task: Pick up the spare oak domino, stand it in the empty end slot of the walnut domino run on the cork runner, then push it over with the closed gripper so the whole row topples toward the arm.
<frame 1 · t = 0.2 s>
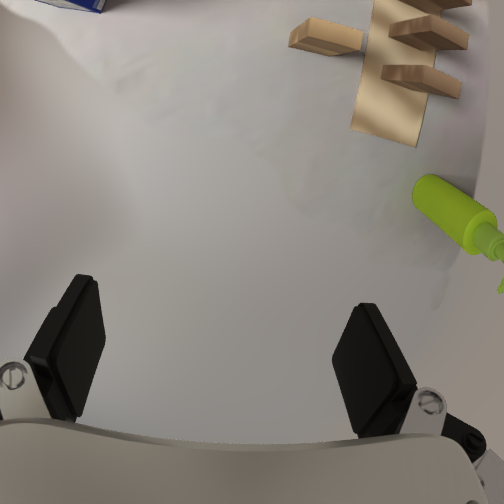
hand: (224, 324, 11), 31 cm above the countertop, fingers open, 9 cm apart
domino 3: (405, 37, 31), resting on runner
domino 1: (310, 43, 32), on the countertop
runner: (404, 37, 31), on the countertop
domino 2: (398, 77, 33), resting on runner
soap dispenser: (427, 195, 43), on the countertop
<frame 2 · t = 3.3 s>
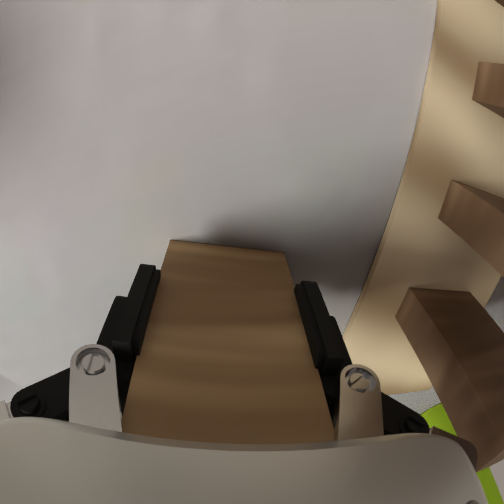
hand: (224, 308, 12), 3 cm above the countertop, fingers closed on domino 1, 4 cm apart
domino 3: (477, 208, 13), resting on runner
domino 1: (224, 265, 15), on the countertop, touching gripper
runner: (472, 205, 14), on the countertop
domino 2: (434, 303, 16), resting on runner
soap dispenser: (430, 419, 25), on the countertop
when the fingers open (4 cm above the countertop, at t = 9.0 s): domino 1 stays where it is, resting on runner.
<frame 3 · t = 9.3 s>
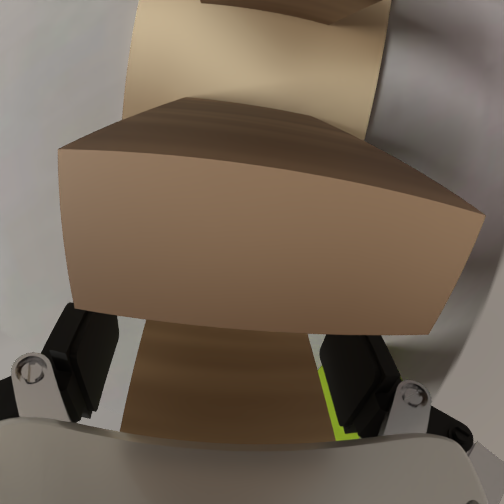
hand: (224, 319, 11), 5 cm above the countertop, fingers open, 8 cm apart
domino 1: (224, 260, 15), resting on runner
domino 2: (245, 128, 12), resting on runner
soap dispenser: (351, 376, 21), on the countertop
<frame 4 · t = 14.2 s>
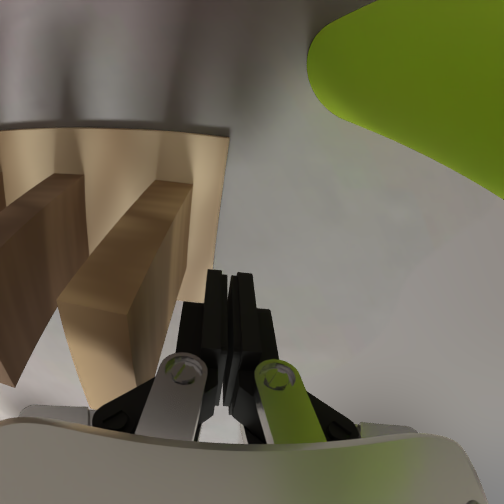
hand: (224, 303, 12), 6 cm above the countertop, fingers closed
domino 1: (171, 226, 17), resting on runner
domino 2: (71, 215, 16), resting on runner
soap dispenser: (369, 70, 14), on the countertop
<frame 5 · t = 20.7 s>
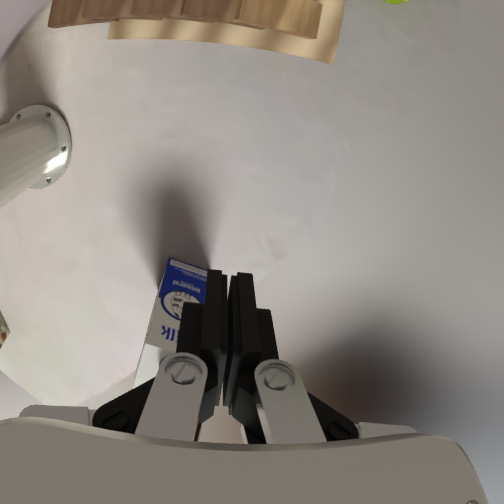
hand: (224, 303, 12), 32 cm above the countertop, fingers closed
domino 5: (119, 2, 28), point 1 cm above the countertop, tilted 93°, touching domino 4, runner
domino 3: (217, 4, 30), point 1 cm above the countertop, tilted 71°, touching domino 2, domino 4, runner
domino 1: (315, 21, 31), point 1 cm above the countertop, tilted 71°, touching domino 2, runner
runner: (225, 7, 31), on the countertop
domino 4: (165, 1, 29), point 1 cm above the countertop, tilted 70°, touching domino 3, domino 5, runner
milk carton: (183, 280, 50), on the countertop
domino 2: (266, 11, 31), point 1 cm above the countertop, tilted 70°, touching domino 1, domino 3, runner
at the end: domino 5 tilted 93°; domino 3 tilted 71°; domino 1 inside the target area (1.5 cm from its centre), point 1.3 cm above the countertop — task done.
